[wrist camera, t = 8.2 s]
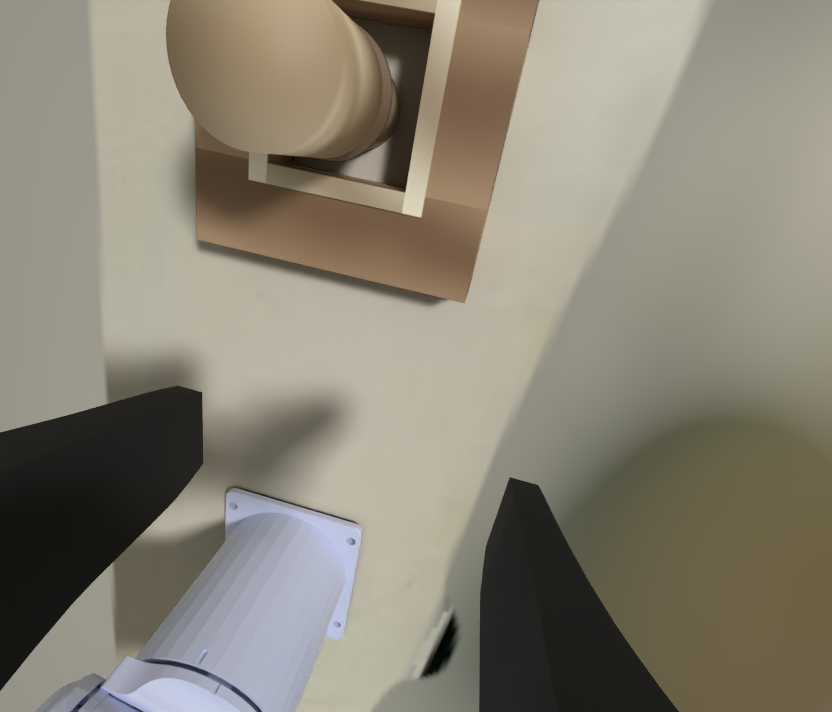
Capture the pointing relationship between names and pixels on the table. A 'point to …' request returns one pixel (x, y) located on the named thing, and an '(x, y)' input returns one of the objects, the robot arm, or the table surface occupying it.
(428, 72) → the board
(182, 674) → the robot arm
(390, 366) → the table surface
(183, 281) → the table surface
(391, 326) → the table surface
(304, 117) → the peg
